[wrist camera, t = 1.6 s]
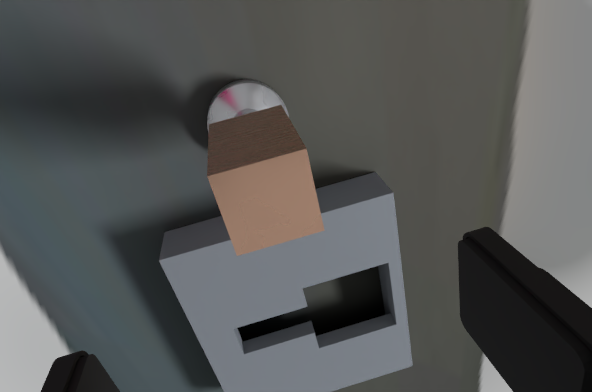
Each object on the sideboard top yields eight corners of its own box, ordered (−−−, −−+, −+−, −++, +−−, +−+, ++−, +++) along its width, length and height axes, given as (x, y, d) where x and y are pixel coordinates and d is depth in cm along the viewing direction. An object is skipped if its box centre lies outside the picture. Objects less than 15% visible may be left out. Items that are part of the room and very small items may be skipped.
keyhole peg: (196, 91, 23) (184, 165, 14) (276, 69, 23) (319, 128, 14) (221, 164, 26) (226, 271, 16) (293, 144, 26) (341, 238, 16)
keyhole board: (164, 232, 27) (158, 260, 24) (375, 171, 28) (393, 192, 25) (236, 386, 35) (238, 420, 33) (397, 336, 36) (412, 365, 33)
